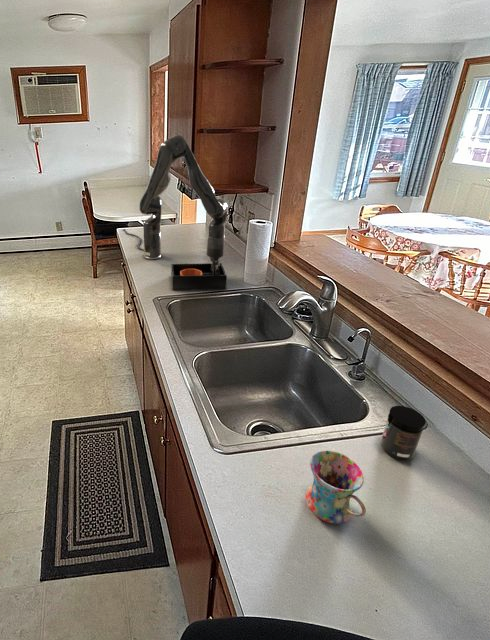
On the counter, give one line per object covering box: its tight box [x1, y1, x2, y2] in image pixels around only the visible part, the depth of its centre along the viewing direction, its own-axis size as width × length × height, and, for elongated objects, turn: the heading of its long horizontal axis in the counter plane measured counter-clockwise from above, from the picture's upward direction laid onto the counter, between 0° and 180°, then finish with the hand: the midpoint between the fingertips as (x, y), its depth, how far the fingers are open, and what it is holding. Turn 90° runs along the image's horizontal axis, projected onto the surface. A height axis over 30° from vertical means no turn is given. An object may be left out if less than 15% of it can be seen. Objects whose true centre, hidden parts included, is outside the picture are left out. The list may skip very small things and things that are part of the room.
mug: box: [304, 450, 367, 525], centre depth 77 cm, size 12×9×11 cm
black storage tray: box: [170, 262, 227, 291], centre depth 179 cm, size 15×24×7 cm, turn 86°
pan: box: [180, 269, 220, 276], centre depth 179 cm, size 18×10×4 cm, turn 86°
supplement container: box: [380, 405, 427, 461], centre depth 90 cm, size 7×7×10 cm
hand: (213, 280), depth 180 cm, fingers open, 4 cm apart
